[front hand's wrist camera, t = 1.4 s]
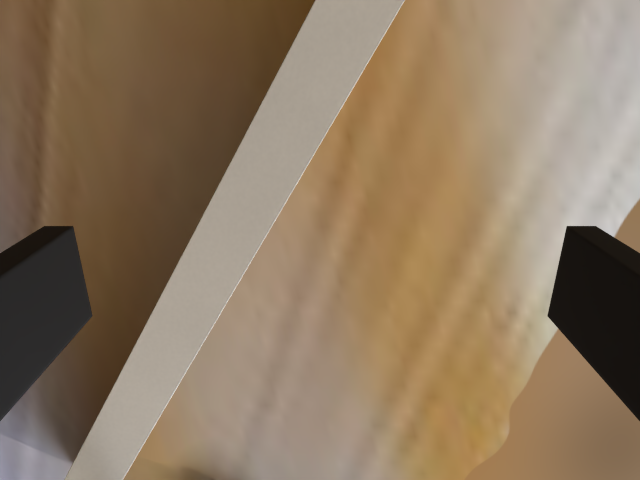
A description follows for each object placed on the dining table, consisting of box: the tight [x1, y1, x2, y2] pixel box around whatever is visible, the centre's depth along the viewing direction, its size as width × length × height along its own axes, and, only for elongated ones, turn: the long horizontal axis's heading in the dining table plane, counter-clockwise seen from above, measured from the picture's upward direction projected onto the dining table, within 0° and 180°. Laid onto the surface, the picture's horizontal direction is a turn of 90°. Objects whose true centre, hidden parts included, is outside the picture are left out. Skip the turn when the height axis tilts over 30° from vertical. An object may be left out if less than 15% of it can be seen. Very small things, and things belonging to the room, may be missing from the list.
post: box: [65, 0, 405, 480], centre depth 47 cm, size 82×6×8 cm, turn 149°
